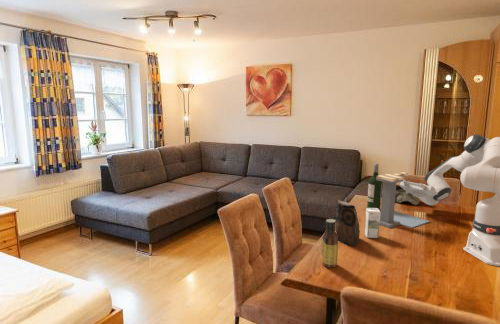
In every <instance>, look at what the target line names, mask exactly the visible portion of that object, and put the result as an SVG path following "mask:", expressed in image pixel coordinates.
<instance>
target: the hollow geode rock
mask: <svg viewBox="0 0 500 324" xmlns="http://www.w3.org/2000/svg"><path fill="white" fill-rule="evenodd" d="M382 188H383V183H382ZM381 192H382V189H381ZM419 200H420V199H419V198H418V197H416V196H414V195H411V194H409V193H407V192H406V191H405V190H404V189H403V188H401V187H400V184H396V195H395V203H402V202H409V203H410V204H411V205H413V206H416V205H419V204H420V201H419Z"/></svg>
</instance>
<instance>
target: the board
mask: <svg viewBox="0 0 500 324" xmlns="http://www.w3.org/2000/svg"><path fill="white" fill-rule="evenodd" d="M408 174H409V173H408V172H404V171H403V172H402V171H401V172H397V173H393V174H390V173H385V174H378V176H377V177H376V178H377V179H382V180H386V181H391V182H394V181H399V180H405V179H404V178H406V177H408V176H409V175H408Z"/></svg>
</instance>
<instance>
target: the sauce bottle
mask: <svg viewBox="0 0 500 324" xmlns="http://www.w3.org/2000/svg"><path fill="white" fill-rule="evenodd" d="M335 227H336V220H335V218H334V219H333V218H329V219H327V218H326V220H325V231H324V234H323V236H322V245H321V246H322V248H321V249H322V250H321V252H322V254H321V261H322V265H323V266H325V267H327V268H330V269H331V268H336V267H337V265H338V255H339V253H338V251H339V247H338V246H339V241H338V236H337V234H336V229H335Z"/></svg>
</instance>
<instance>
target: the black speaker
mask: <svg viewBox="0 0 500 324" xmlns="http://www.w3.org/2000/svg"><path fill="white" fill-rule="evenodd" d="M334 220H335V221H336V225H335V232H336V234H337V236H338V242H339V243H341V244H344V245H346V246H350V247H357V246H358V244H359V241H360V233H361V231H360V223H359V217H358V212H357V209H356V206H355V205H353V204H352V203H349V202H347V201H344V200H343V201H342V200H339V199H336V212H335V214H334Z"/></svg>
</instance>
